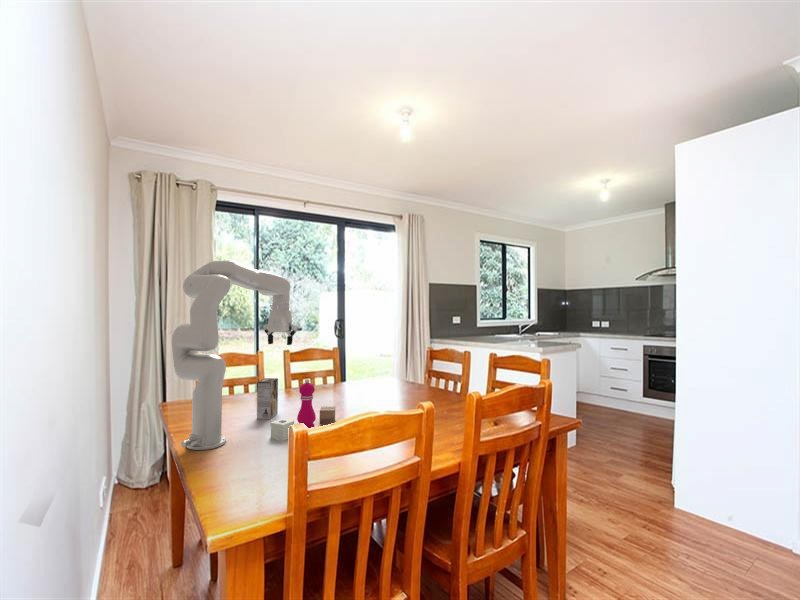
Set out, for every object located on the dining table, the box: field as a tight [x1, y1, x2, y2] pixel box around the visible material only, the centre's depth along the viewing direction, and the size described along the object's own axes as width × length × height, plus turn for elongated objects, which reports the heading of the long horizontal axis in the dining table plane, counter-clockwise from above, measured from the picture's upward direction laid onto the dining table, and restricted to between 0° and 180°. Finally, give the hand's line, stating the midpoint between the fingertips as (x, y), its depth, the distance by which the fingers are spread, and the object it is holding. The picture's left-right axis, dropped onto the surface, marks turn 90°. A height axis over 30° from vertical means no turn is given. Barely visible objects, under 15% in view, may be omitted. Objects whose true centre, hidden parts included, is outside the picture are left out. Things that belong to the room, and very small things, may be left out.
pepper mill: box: [296, 378, 317, 428], centre depth 160 cm, size 7×7×20 cm
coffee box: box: [256, 377, 279, 420], centre depth 177 cm, size 9×6×16 cm
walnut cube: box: [318, 406, 336, 426], centre depth 169 cm, size 6×6×6 cm
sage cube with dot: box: [270, 418, 295, 441], centre depth 150 cm, size 6×6×6 cm
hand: (280, 344), depth 184 cm, fingers open, 9 cm apart
